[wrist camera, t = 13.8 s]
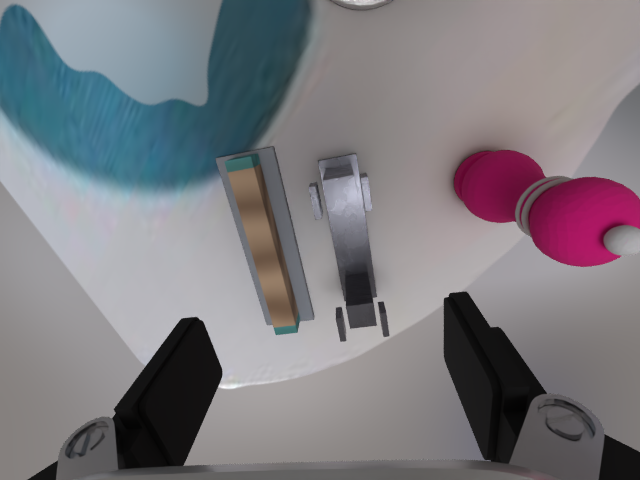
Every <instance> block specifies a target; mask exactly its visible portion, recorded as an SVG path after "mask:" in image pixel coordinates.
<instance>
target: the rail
mask: <svg viewBox="0 0 640 480" xmlns="http://www.w3.org/2000/svg"><path fill="white" fill-rule="evenodd" d="M224 162H225V166H226V169H227V173H228V176H229V179H230V183H231V186H232V189H233V193H234V196H235V199H236V203H237V206H238V209H239V213H240V216H241V220H242V223H243V226H244V230H245V233H246V236H247V240H248V243H249V246H250V250H251V253H252V256H253V260H254V263H255V267H256V270H257V273H258V277H259V280H260V283H261V287H262V290H263V293H264V297H265V300H266V303H267V307H268V310H269V314H270V317H271V320H272V324H273V327H274V330H275V334H276V335H280V334H289V333H297V332H298V328H299V322H300V316H299V312H298V308H297V304H296V300H295V296H294V292H293V288H292V285H291V281H290V277H289V273H288V269H287V265H286V261H285V257H284V253H283V249H282V246H281V242H280V238H279V234H278V230H277V226H276V222H275V218H274V214H273V210H272V207H271V203H270V199H269V195H268V191H267V187H266V183H265V179H264V175H263V171H262V168H261V164H260V160H259V156H258V153H257V154H252V155H247V156H242V157H237V158H232V159H230V160H227V161H224Z"/></svg>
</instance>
